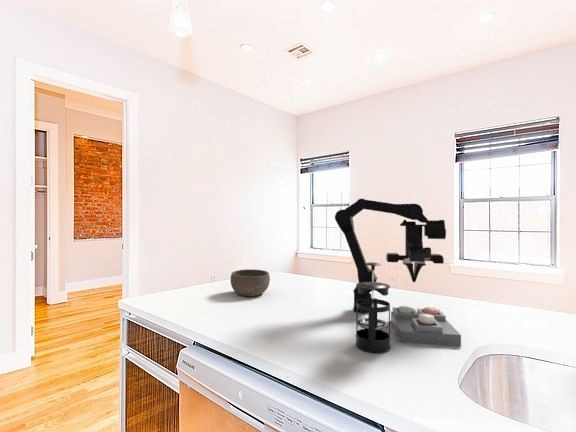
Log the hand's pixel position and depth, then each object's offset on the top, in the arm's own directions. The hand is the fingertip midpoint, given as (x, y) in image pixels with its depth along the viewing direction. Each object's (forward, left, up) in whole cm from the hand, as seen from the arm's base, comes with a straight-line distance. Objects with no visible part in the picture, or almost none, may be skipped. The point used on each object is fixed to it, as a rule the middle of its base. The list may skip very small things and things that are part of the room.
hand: (413, 282), depth 117 cm
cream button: (-1, -22, -7) cm, 23 cm away
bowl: (-67, +20, -12) cm, 71 cm away
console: (-1, -17, -12) cm, 21 cm away
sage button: (-5, -11, -8) cm, 14 cm away
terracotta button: (+3, -11, -8) cm, 14 cm away
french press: (-17, -30, -12) cm, 37 cm away
